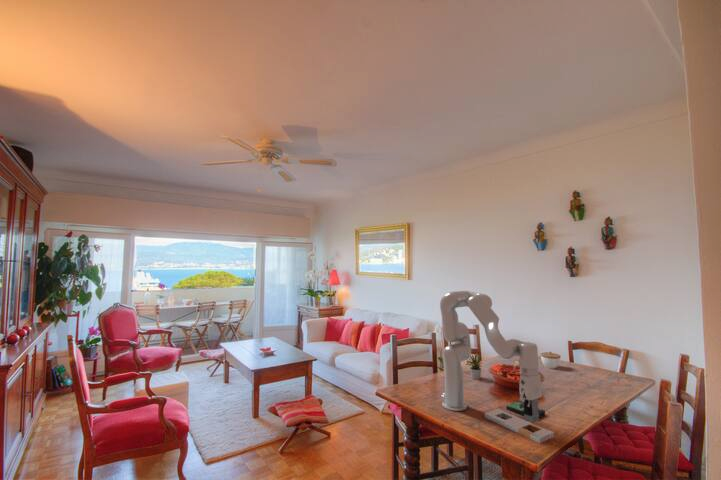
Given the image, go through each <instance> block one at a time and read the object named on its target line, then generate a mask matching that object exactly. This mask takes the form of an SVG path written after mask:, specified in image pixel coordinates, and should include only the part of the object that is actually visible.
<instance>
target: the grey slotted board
mask: <svg viewBox="0 0 721 480" xmlns="http://www.w3.org/2000/svg"><path fill="white" fill-rule="evenodd" d="M484 418H485V419H487V420H489V421H492V422H494V423H496V424H498V425H499V426H502V427H504V428H506V429H509V430H510V431H512V432H515V433H518V434H519V435H521V436H524V437H526V438H528V439H530V440H531V441H535V442H537V443H538V444H542V443H543V442H546V441H548V439H549V440H550V439H553V438H555V435H554V432H553V431H551V430H549V429H546V428H545V427H542V426H539V425H538V424H534V423H532V422H530V421H528V420H525V419H523V418H521V417H518V416H516V415H513V414H511V413H510V412H506V411H504V410H502V409H500V408H497V409H494V410H490V411H487V412H484ZM530 430H531V431H530Z"/></svg>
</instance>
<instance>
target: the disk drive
mask: <svg viewBox="0 0 721 480" xmlns="http://www.w3.org/2000/svg"><path fill="white" fill-rule="evenodd" d="M505 410H506V411H508V410H509V412H512V413H513V414H517V415H520V416H522V417H524V405H523V403H522V402H521V401H518V400H517V401H514V402H511V403H510V404H507V405H506V409H505ZM545 415H546V410H543V409H541V408H539V407H538V418H539V419H540V418H542V417H544V416H545Z"/></svg>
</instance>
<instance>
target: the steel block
mask: <svg viewBox="0 0 721 480" xmlns="http://www.w3.org/2000/svg"><path fill="white" fill-rule="evenodd" d="M526 401H527V402H528V400H526ZM538 402H539V400H538V398H537V399H534V400H531V401H530V406H531V413H532V416H528V415H526V414H524V416H523V417H524V420H526V421H528V422H530V423H533V424H534V423H537V422H538V421H539V420H540V418H538V408H539V403H538Z"/></svg>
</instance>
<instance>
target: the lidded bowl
mask: <svg viewBox="0 0 721 480" xmlns="http://www.w3.org/2000/svg"><path fill="white" fill-rule="evenodd" d="M540 358H541V363H542V364H543V366H545V368H546V369H550V370H551V369H557V368H558V367H559V366H560V364H561V355H560V354H558V353H554V352H552V351H549V352H541V353H540Z"/></svg>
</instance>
